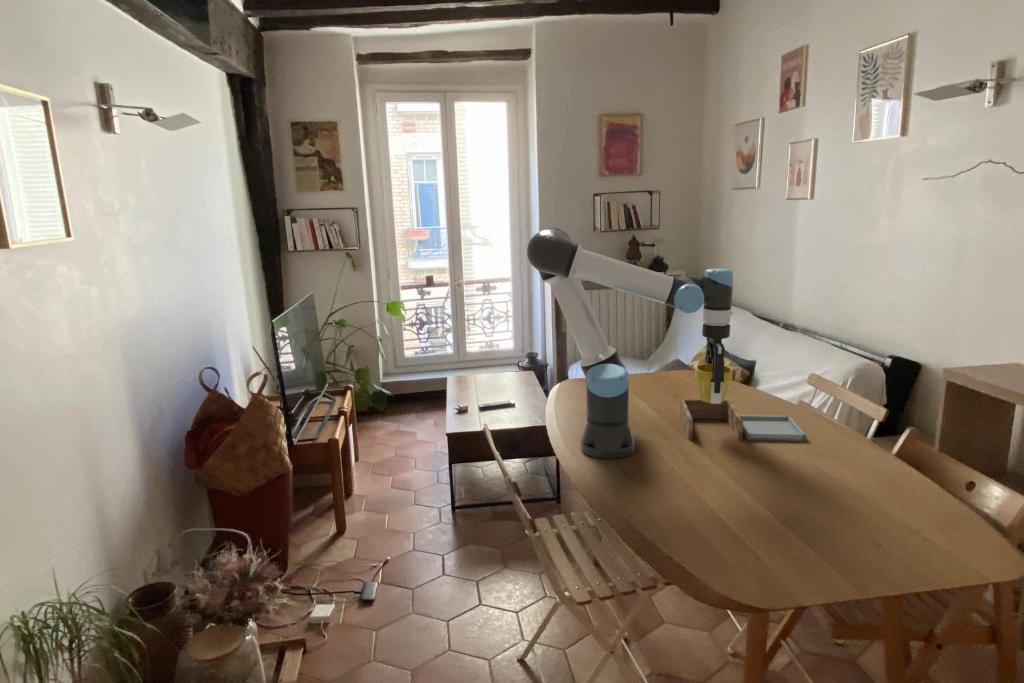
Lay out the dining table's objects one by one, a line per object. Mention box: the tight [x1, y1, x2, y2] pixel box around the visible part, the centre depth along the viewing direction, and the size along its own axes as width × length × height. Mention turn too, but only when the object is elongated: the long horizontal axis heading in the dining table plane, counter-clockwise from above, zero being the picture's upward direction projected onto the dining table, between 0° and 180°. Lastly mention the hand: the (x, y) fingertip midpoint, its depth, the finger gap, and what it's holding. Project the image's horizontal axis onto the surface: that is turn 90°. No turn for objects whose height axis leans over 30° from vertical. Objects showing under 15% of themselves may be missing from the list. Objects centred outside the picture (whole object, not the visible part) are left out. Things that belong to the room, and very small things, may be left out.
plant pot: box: [694, 363, 734, 403], centre depth 181 cm, size 10×10×10 cm
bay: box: [679, 398, 743, 441], centre depth 188 cm, size 19×15×6 cm
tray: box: [739, 414, 806, 442], centre depth 185 cm, size 16×16×2 cm
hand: (712, 397), depth 182 cm, fingers closed on plant pot, 10 cm apart
